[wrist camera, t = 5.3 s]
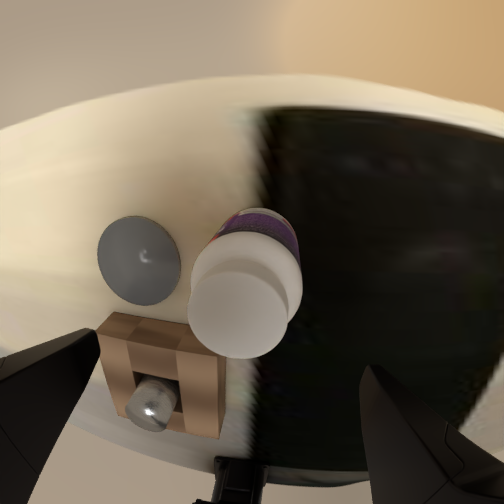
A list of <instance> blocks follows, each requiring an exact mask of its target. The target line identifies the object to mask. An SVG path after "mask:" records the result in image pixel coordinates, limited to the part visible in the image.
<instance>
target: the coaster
mask: <svg viewBox="0 0 504 504" xmlns="http://www.w3.org/2000/svg"><path fill="white" fill-rule="evenodd" d="M97 256H98V264H99V268H100V271H101V274H102V276H103V278H104V280H105V281H106V283H107V284H108V286H109V287H110V288H111V289H112V290H113V291H114V292H115V293H116V294H117V295H118V296H119V297H121V298H122V299H124V300H126V301H128V302H130V303H133V304H136V305H143V306H148V305H154V304H157V303H159V302H161V301H163V300H164V299H166V298H167V297H168V296H169V295H170V294H171V292H172V291H173V290H174V288H175V287H176V285H177V283H178V280H179V277H180V271H181V263H180V257H179V253H178V250H177V247H176V245H175V243H174V241H173V240H172V238H171V237H170V235H169V234H168V233H167V232H166V231H165V230H164V229H163V228H162V227H161V226H160V225H158V224H157V223H155V222H154V221H152V220H150V219H147V218H144V217H139V216H129V217H125V218H122V219H119V220H117V221H115V222H114V223H112V224H111V225H109V226H108V227H107V228H106V229H105V231H104V232H103V234H102V236H101V238H100V241H99V244H98V252H97Z"/></svg>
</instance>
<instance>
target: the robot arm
mask: <svg viewBox="0 0 504 504" xmlns="http://www.w3.org/2000/svg"><path fill="white" fill-rule="evenodd" d="M100 353H101V349H100V344H99V340H98V336H97V333H96V331H95V330H93V329H89V328H83V329H80V330H78V331H75V332H72V333H70V334H67V335H64V336H61V337H59V338H56V339H53V340H50V341H47V342H45V343H42V344H39V345H36V346H34V347H31V348H28V349H25V350H22V351H20V352H17V353H14V354H11V355H8V356H7V357H2V358H0V504H27V503H28V501H29V498H30V496H31V494H32V491H33V489H34V487H35V485H36V482H37V480H38V478H39V475H40V474H41V472H42V470H43V467H44V465H45V463H46V461H47V459H48V457H49V455H50V453H51V451H52V449H53V447H54V445H55V443H56V441H57V439H58V437H59V435H60V434H61V432H62V430H63V428H64V426H65V424H66V422H67V420H68V419H69V417H70V415H71V413H72V411H73V409H74V408H75V406H76V404H77V402H78V400H79V399H80V397H81V395H82V393H83V391H84V390H85V388H86V386H87V383H88V381H89V379H90V377H91V374H92V372H93V370H94V368H95V365H96V363H97V361H98V359H99V357H100ZM359 395H360V409H361V426H362V434H363V440H364V446H365V452H366V458H367V465H368V471H369V478H370V485H371V493H372V501H373V504H504V463H503V462H501V461H500V460H498V459H497V458H495V457H494V456H492V455H491V454H489V453H488V452H486V451H485V450H483V449H482V448H480V447H479V446H477V445H476V444H475V443H473V442H472V441H470V440H469V439H468V438H466V437H465V436H464V435H462V434H461V433H460V432H459V431H457V430H456V429H455V428H454V427H453V426H451V425H450V424H449V423H448V424H447V421H445V420H444V419H443V418H442V417H441V416H440V415H438V414H437V413H436V412H435V411H434V410H432V409H431V408H430V407H429V406H428V405H427V404H425V403H424V402H423V401H422V400H421V399H419V398H418V397H417V396H416V395H415V394H414V393H412V392H411V391H410V390H409V389H408V388H406V387H405V386H404V385H403V384H402V383H401V382H399V381H398V380H397V379H396V378H395V377H394V376H392V375H391V374H390V373H389V372H388V371H386V370H385V369H384V368H383V367H382V366H380V365H367V366H366V368H365V371H364V374H363V377H362V379H361V382H360V386H359ZM214 467H215V479H216V481H215V486H214V490H213V494H212V499H211V502H208V501H203V500H201V499H197V500H196V502H195V503H192V504H261V500H262V491H263V487H264V486H265V484H266V480H267V476H268V472H269V468H270V464H269V463H266V462H255V461H245V460H237V459H230V458H223V457H215V459H214Z"/></svg>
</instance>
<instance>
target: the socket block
mask: <svg viewBox="0 0 504 504" xmlns="http://www.w3.org/2000/svg"><path fill="white" fill-rule="evenodd" d="M96 333H97V336H98V340H99V344H100V349H101V353H100V360H101V364H102V367H103V371H104V374H105V378H106V381H107V384H108V387H109V390H110V393H111V397H112V400H113V402H114V405H115V408H116V411H117V414H118V416H121V417H124V418H128V416H127V415H126V412H125V407H126V405H127V403H128V402H129V400H130V398H131V396H132V395H133V393H134V391H135V390H136V388H137V386H138V385H139V383H140V381H141V380H142V378H143V376H144V375H145V374H149V375H154V376H158V377H163V378H168V379H173V380H178V381H179V386H180V396H179V398H178V401H177V403H176V405H175V408H174V410H173V412H172V415H171V417H170V420H169V422H168V424H167V427H166V429H169V430H173V431H178V432H183V433H187V434H192V435H198V436H203V437H209V438H215V439H219V436H220V432H221V428H222V424H223V420H224V416H225V376H226V357H225V356H222V355H219V354H217V353H215V352H213V351H212V350H210V349H208V348H207V347H206V346H205V345H203V344H202V343H201V342H200V341H199V340H198V339H197V337H196V336H195V334H194V333H193V331H192V329H191V327H190V325H187V324H180V323H173V322H167V321H161V320H155V319H149V318H144V317H138V316H133V315H127V314H122V313H117V312H113V313H112V314H111V315H110V316H109V317H108V318H107V319H106V320H105V321H104V322H103V323H102V324H101V325H100V326H99V327H98V329H97V330H96ZM128 419H129V418H128Z"/></svg>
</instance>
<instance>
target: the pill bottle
mask: <svg viewBox="0 0 504 504" xmlns="http://www.w3.org/2000/svg"><path fill="white" fill-rule="evenodd" d="M190 284H191V295H190V298H189V301H188V306H187V316H188V322H189V324H190V327H191V329H192V331H193V333H194V334H195V336H196V337H197V339H198V340H199V341H200V342H201V343H202V344H203V345H205V346H206V347H207V348H208V349H210V350H212V351H213V352H215V353H217V354H219V355H222V356H225V357H229V358H236V359H248V358H254V357H258V356H261V355H263V354H265V353H267V352H269V351H270V350H272V349H273V348H274V347H275V346H276V345H277V344H278V343H279V342H280V341H281V339H282V338H283V336H284V334H285V331H286V328H287V323H288V322H289V321H290V320H291V319H292V317H293V316H294V315H295V313H296V311H297V309H298V307H299V305H300V302H301V297H302V289H303V288H302V272H301V265H300V257H299V249H298V242H297V238H296V235H295V232H294V230H293V228H292V227H291V225H290V224H289V222H288V221H287V220H286V219H285V218H284V217H282V216H281V215H280V214H278V213H276V212H274V211H272V210H269V209H265V208H249V209H245V210H242V211H240V212H238V213H236V214H235V215H233V216H232V217H231V218H229V219H228V220H227V221H226V222H225V224H224V225H223V226H222V227H221V228H220V230H219V231H218V232H217V233H216V234H215V236H214V237H213V238H212V239H211V241H210V242H209V243H208V244H207V246H206V247H205V248H204V249H203V250H202V252H201V253H200V254H199V256H198V258H197V259H196V261H195V263H194V266H193V269H192V273H191V281H190Z"/></svg>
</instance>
